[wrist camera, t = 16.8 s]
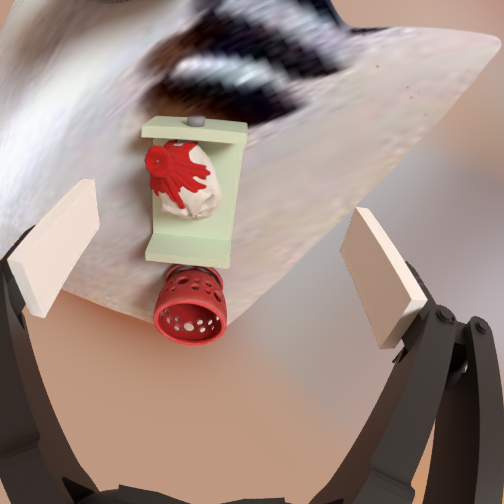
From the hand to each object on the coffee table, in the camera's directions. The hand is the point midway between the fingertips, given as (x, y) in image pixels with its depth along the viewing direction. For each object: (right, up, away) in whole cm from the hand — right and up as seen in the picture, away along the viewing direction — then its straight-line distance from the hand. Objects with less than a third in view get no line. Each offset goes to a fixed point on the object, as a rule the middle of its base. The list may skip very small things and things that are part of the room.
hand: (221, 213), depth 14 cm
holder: (-8, +9, +33) cm, 36 cm away
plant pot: (-10, -8, +46) cm, 48 cm away
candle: (-7, +9, +33) cm, 35 cm away
